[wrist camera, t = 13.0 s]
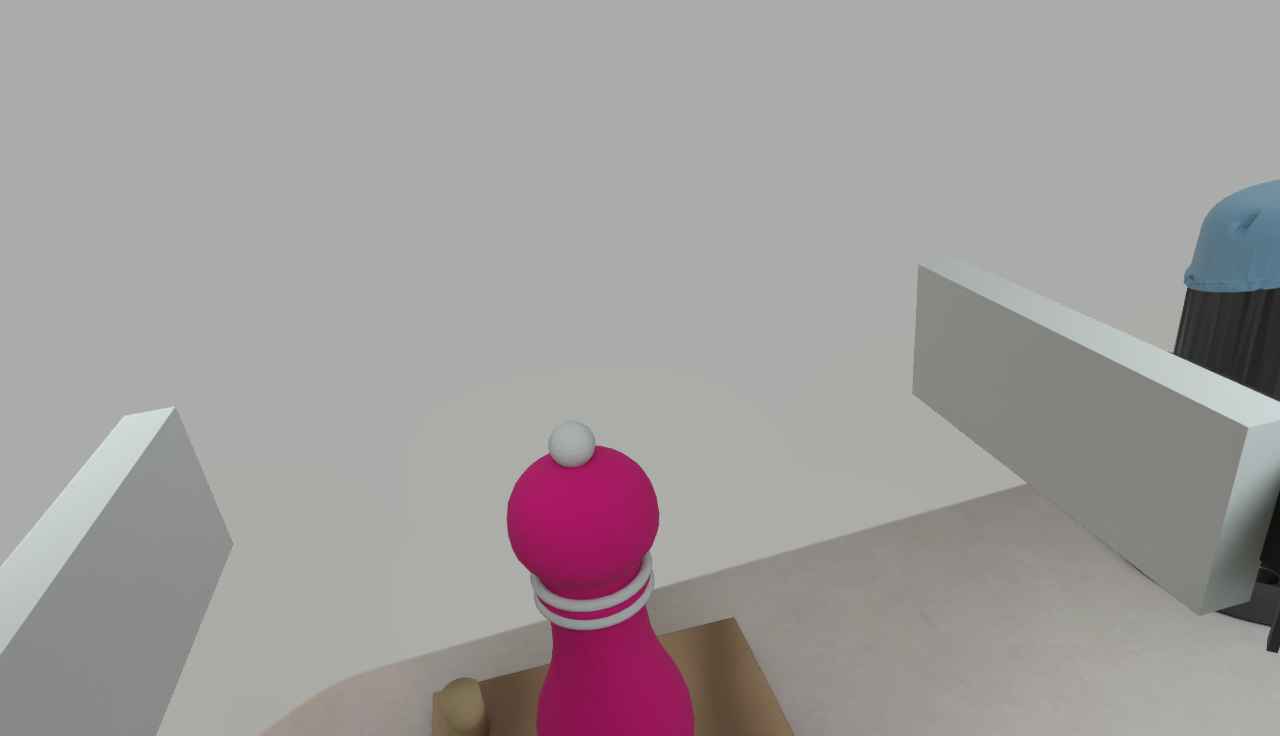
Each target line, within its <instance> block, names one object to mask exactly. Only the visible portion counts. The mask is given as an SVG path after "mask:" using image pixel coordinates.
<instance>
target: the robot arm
mask: <svg viewBox="0 0 1280 736" xmlns="http://www.w3.org/2000/svg"><path fill="white" fill-rule="evenodd" d="M1184 284H1186V285H1187V286H1188V288H1187V292H1186V298H1185V301H1184V306H1183V311H1182V316H1181V320H1180V324H1179V329H1178V334H1177V338H1176V342H1175V347H1174V351H1173V353H1170V352H1167V351H1164V350H1162V349H1160V348H1158V347H1155V346H1153V345H1150V344H1149V343H1146V342H1144V341H1142V340H1140V339H1137V338H1135V337H1133V336H1130V335H1128V334H1126V333H1124V332H1122V331H1119V330H1117V329H1115V328H1113V327H1110V326H1108V325H1106V324H1104V323H1101V322H1099V321H1097V320H1094V319H1093V318H1090V317H1088V316H1086V315H1083V314H1081V313H1079V312H1077V311H1074V310H1072V309H1070V308H1068V307H1066V306H1063V305H1061V304H1059V303H1057V302H1054V301H1052V300H1050V299H1048V298H1045V297H1043V296H1041V295H1039V294H1036V293H1034V292H1032V291H1030V290H1027V289H1025V288H1023V287H1021V286H1018V285H1016V284H1014V283H1012V282H1010V281H1007V280H1005V279H1003V278H1000V277H998V276H996V275H994V274H992V273H989V272H987V271H985V270H983V269H980V268H978V267H976V266H974V265H971V264H969V263H967V262H965V261H962V260H960V259H958V258H956V257H954V258H948V259H944V260H938V261H933V262H927V263H922V264H919V265H918V286H917V307H916V308H917V309H916V329H915V350H914V371H913V394H914V395H915V396H916V397H918V398H919V399H920V400H921V401H923V402H924V403H925V404H926V405H928V406H929V407H930V408H932V409H933V410H934V411H935V412H937V413H938V414H939V415H941V416H942V417H943V418H945V419H946V420H947V421H948V422H950V423H951V424H952V425H954V426H955V427H956V428H957V429H959V430H960V431H961V432H963V433H964V434H965V435H966V436H968V437H969V438H970V439H972V440H973V441H974V442H975V443H977V444H978V445H979V446H981V447H982V448H983V449H984V450H986V451H987V452H988V453H990V454H991V455H992V456H993V457H995V458H996V459H997V460H999V461H1000V462H1001V463H1002V464H1004V465H1005V466H1007V467H1008V468H1009V469H1010V470H1012V471H1013V472H1014V473H1015V474H1017V475H1018V476H1019V477H1020V478H1022V479H1023V480H1024V481H1026V482H1027V483H1028V484H1030V485H1031V486H1032V487H1033V488H1035V489H1036V490H1037V491H1039V492H1040V493H1041V494H1042V495H1044V496H1045V497H1046V498H1048V499H1049V500H1050V501H1051V502H1053V503H1054V504H1055V505H1057V506H1058V507H1059V508H1060V509H1062V510H1063V511H1064V512H1066V513H1067V514H1068V515H1069V516H1071V517H1072V518H1073V519H1075V520H1076V521H1077V522H1078V523H1080V524H1081V525H1082V526H1084V527H1085V528H1086V529H1087V530H1089V531H1090V532H1091V533H1093V534H1094V535H1095V536H1096V537H1098V538H1099V539H1100V540H1102V541H1103V542H1104V543H1105V544H1107V545H1108V546H1109V547H1111V548H1112V549H1113V550H1115V551H1116V552H1117V553H1118V554H1120V555H1121V556H1122V557H1124V558H1125V559H1126V560H1127V561H1129V562H1130V563H1131V564H1133V565H1134V566H1135V567H1136V568H1138V569H1139V570H1140V571H1142V572H1143V573H1144V574H1145V575H1147V576H1148V577H1149V578H1151V579H1152V580H1153V581H1154V582H1156V583H1157V584H1158V585H1160V586H1161V587H1162V588H1163V589H1165V590H1166V591H1167V592H1169V593H1170V594H1171V595H1172V596H1174V597H1175V598H1176V599H1178V600H1179V601H1180V602H1181V603H1183V604H1184V605H1185V606H1187V607H1188V608H1189V609H1190V610H1192V611H1193V612H1194V613H1196V614H1197V615H1198V616H1200V615H1204V614H1207V613H1211V612H1214V611H1217V610H1218V611H1221V612H1224V613H1227V614H1230V615H1233V616H1236V617H1240V618H1243V619H1247V620H1251V621H1255V622H1259V623H1263V624H1268V625H1272V627H1271V630H1270V633H1269V636H1268V640H1267V651H1270V652H1275V653H1278V650H1279V647H1280V180H1275V181H1271V182H1267V183H1262V184H1259V185H1255V186H1252V187H1249V188H1246V189H1243V190H1241V191H1238V192H1236V193H1234V194H1232V195H1230V196H1228V197H1226V198H1224V199H1223V200H1222V201H1220V202H1219V203H1217V204H1216V205H1215V206H1214V207H1213V208H1212V209H1211V210H1210V211H1209V213H1208V214H1207V216H1206V217H1205V219H1204V221H1203V224H1202V227H1201V230H1200V234H1199V238H1198V241H1197V245H1196V248H1195V252H1194V256H1193V260H1192V263H1191V265H1190V266H1189V267H1188V269H1187V270H1186V272H1185V275H1184ZM232 546H233V542H232V540H231V537H230V535H229V532H228V530H227V527H226V525H225V523H224V520H223V518H222V516H221V513H220V511H219V508H218V506H217V504H216V501H215V499H214V497H213V494H212V492H211V489H210V487H209V485H208V482H207V480H206V477H205V475H204V473H203V471H202V468H201V466H200V463H199V461H198V458H197V456H196V454H195V451H194V449H193V446H192V444H191V442H190V439H189V437H188V435H187V432H186V430H185V427H184V425H183V423H182V420H181V418H180V416H179V413H178V411H177V408H176V407H170V408H164V409H159V410H154V411H149V412H144V413H138V414H133V415H128V416H124V417H123V418H122V419H121V421H120V422H119V423H118V424H117V426H116V427H115V428H114V429H113V430H112V432H111V433H110V434H109V435H108V437H107V438H106V439H105V440H104V442H103V443H102V444H101V445H100V446H99V448H98V449H97V450H96V451H95V453H94V454H93V455H92V456H91V457H90V458H89V460H88V461H87V462H86V463H85V465H84V466H83V467H82V468H81V469H80V471H79V472H78V473H77V474H76V476H75V477H74V478H73V479H72V480H71V482H70V483H69V484H68V485H67V487H66V488H65V489H64V490H63V491H62V493H61V494H60V495H59V496H58V498H57V499H56V500H55V501H54V502H53V504H52V505H51V506H50V507H49V508H48V510H47V511H46V512H45V513H44V515H43V516H42V517H41V518H40V519H39V521H38V522H37V523H36V525H35V526H34V527H33V528H32V529H31V530H30V532H29V533H28V534H27V535H26V537H25V538H24V539H23V540H22V541H21V543H20V544H19V545H18V546H17V548H16V549H15V550H14V551H13V553H12V554H11V555H10V556H9V557H8V559H7V560H6V561H5V562H4V563H3V565H2V566H1V567H0V736H156V734H157V731H158V729H159V726H160V724H161V721H162V719H163V717H164V713H165V712H166V709H167V707H168V704H169V702H170V699H171V697H172V694H173V692H174V689H175V687H176V684H177V682H178V679H179V677H180V674H181V672H182V670H183V667H184V665H185V662H186V660H187V657H188V655H189V652H190V650H191V647H192V645H193V642H194V640H195V637H196V635H197V632H198V630H199V628H200V625H201V622H202V620H203V618H204V615H205V613H206V610H207V608H208V605H209V603H210V600H211V598H212V595H213V593H214V591H215V588H216V585H217V583H218V581H219V578H220V576H221V573H222V571H223V568H224V566H225V563H226V561H227V558H228V556H229V553H230V551H231V549H232Z"/></svg>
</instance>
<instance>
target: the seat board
mask: <svg viewBox="0 0 1280 736" xmlns="http://www.w3.org/2000/svg"><path fill="white" fill-rule="evenodd" d="M657 639H658V640H659V642H660V643H661V644H662V646H663V647H664V648H665V650H666V651H667V652H668V654H669V655H670V656H671V658H672V659H673V660H674V662H675V663H676V664H677V666H678V668H679V670H680V672H681V674H682V676H683V678H684V680H685V683H686V685H687V687H688V689H689V692H690V697H691V702H692V707H693V712H694V718H695V728H694V736H794V734H793V732H792V730H791V728H790V726H789V724H788V722H787V720H786V718H785V716H784V714H783V712H782V711H781V709H780V707H779V705H778V703H777V701H776V699H775V697H774V695H773V693H772V691H771V689H770V687H769V685H768V683H767V681H766V679H765V677H764V675H763V673H762V671H761V669H760V667H759V665H758V663H757V661H756V659H755V657H754V655H753V653H752V651H751V649H750V647H749V646H748V644H747V642H746V640H745V638H744V636H743V634H742V632H741V630H740V628H739V626H738V624H737V622H736V620H735V618H734V617H732V618H728V619H724V620H720V621H717V622H713V623H709V624H705V625H701V626H697V627H693V628H689V629H685V630H681V631H677V632H673V633H669V634H665V635H662V636H658V637H657ZM549 667H550V664H548V665H544V666H540V667H536V668H532V669H528V670H524V671H520V672H516V673H512V674H508V675H504V676H500V677H496V678H492V679H489V680H485V681H481V682H477V681H476V680H474V679H472V678H459V679H456V680H454V681H452V682H450V683H449V684H448V685H447V686H446V687H445V688H444V689H443V691H441V692H437V693H434V694H433V736H537V728H536V719H537V708H538V701H539V695H540V692H541V688H542V685H543V683H544V680H545V677H546V675H547V672H548V669H549Z"/></svg>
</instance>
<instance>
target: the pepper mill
mask: <svg viewBox="0 0 1280 736" xmlns="http://www.w3.org/2000/svg"><path fill="white" fill-rule="evenodd" d="M549 451H550V453H549V454H547V455H545V456H543V457H542V458H540V459H538V460H537V461H536V462H534V463H533V464H532V465H530V466H529V467H528V469H527V470H526V471H525V472H524V473H523V474H522V475H521V477H520V478H519V480H518V481H517V482H516V484H515V486H514V489H513V491H512V494H511V496H510V499H509V502H508V510H507V527H508V535H509V539H510V542H511V546H512V549H513V551H514V553H515V555H516V557H517V558H518V560H519V561H520V562H521V563H522V564H523V565H524V566H525V567H526V568H527V569H528V570H529V571H530V572H531V576H530V580H531V584H532V587H533V589H534V599H535V603H536V606H537V608H538V609H539V611H540V613H541V614H542V615H543V616H544V617H545V618H547V619H548V620H549V621H550V622H551V625H552V636H553V651H552V660H551V663H550V667H549V669H548V672H547V675H546V677H545V680H544V683H543V685H542V688H541V692H540V695H539V701H538V708H537V719H536V728H537V736H694V728H695V718H694V712H693V707H692V702H691V697H690V692H689V689H688V687H687V685H686V683H685V680H684V678H683V676H682V674H681V672H680V670H679V668H678V666H677V664H676V663H675V662H674V660H673V659H672V658H671V656H670V655H669V654H668V652H667V651H666V650H665V648H664V647H663V646H662V644H661V643H660V642H659V640H658V639H657V637H656V635H655V633H654V631H653V629H652V627H651V624H650V621H649V617H648V613H647V609H646V602H647V601H648V600H649V598H650V596H651V594H652V591H653V587H654V574H653V571H652V557H651V554H650V551H649V549H650V548H651V547H652V544H653V542H654V539H655V536H656V534H657V531H658V526H659V509H658V503H657V497H656V495H655V492H654V489H653V486H652V484H651V482H650V480H649V478H648V477H647V475H646V474H645V472H644V471H643V470H642V468H641V467H640V466H639V465H638V464H637V463H636V462H635V461H633V460H632V459H631V458H629V457H628V456H626V455H625V454H623V453H621V452H619V451H616V450H614V449H611V448H607V447H602V446H595V438H594V435H593V433H592V432H591V430H590V429H589V428H588V427H587V426H585V425H584V424H582V423H580V422H576V421H567V422H564V423H562V424H560V425H558V426H557V427H556V428H555V429H554V430H553V432H552V433H551V435H550V438H549Z"/></svg>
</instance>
